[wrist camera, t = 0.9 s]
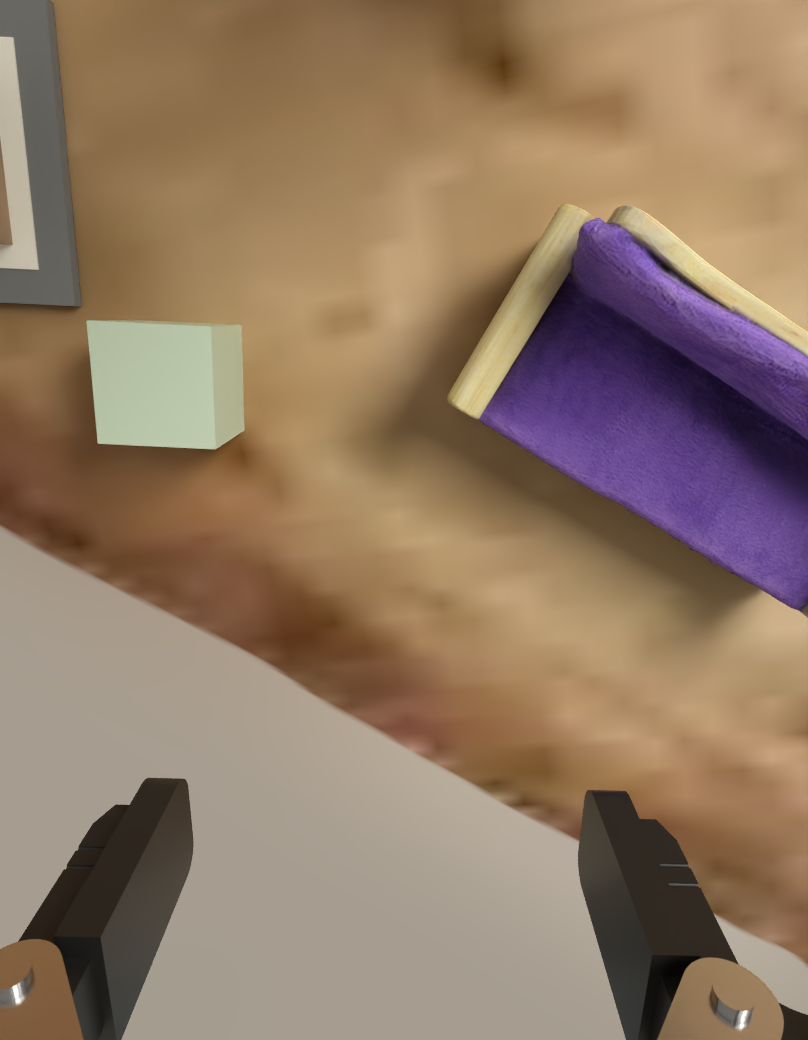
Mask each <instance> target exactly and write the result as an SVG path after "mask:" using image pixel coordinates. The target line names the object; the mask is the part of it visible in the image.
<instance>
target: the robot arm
mask: <svg viewBox="0 0 808 1040" xmlns="http://www.w3.org/2000/svg"><path fill="white" fill-rule="evenodd" d="M192 855H193V832H192V822H191V811H190V802H189V790H188V784H187V782H186V780H185V779H172V778H147V779H145V781H144V782H143V783H142V785H141V786H140V788H139V790H138V792H137V793H136V795H135V797H134V798H133V800H132V802H131V804H130V805H115V806H114V807H112V808H111V809H110V810H109V811H108V812H106V813H105V814H104V815H103V816H102V817H100V818H99V819H98V820H97V821H96V822H94V823H93V825H92V826H91V828H90V829H89V831H88V832H87V834H86V835H85V837H84V839H83V840H82V842H81V843H80V845H79V849H78V851H75V853H74V855H73V856H72V858H71V859H70V861H69V862H68V864H67V868H66V870H63V872H62V874H61V875H60V877H59V878H58V880H57V881H56V883H55V885H54V886H53V888H52V889H51V891H50V892H49V894H48V896H47V897H46V899H45V900H44V902H43V903H42V905H41V907H40V908H39V910H38V911H37V913H36V914H35V916H34V918H33V919H32V921H31V922H30V924H29V925H28V927H27V929H26V930H25V932H24V933H23V935H22V937H21V938H20V940H19V941H18V942H16V943H13V944H11V945H8V946H6V947H4V948H2V949H0V1040H121V1039H122V1036H123V1034H124V1031H125V1029H126V1026H127V1024H128V1021H129V1019H130V1016H131V1014H132V1011H133V1009H134V1007H135V1004H136V1002H137V999H138V997H139V994H140V992H141V989H142V987H143V984H144V982H145V979H146V977H147V974H148V972H149V970H150V967H151V965H152V962H153V959H154V957H155V955H156V952H157V950H158V947H159V945H160V942H161V940H162V937H163V935H164V933H165V930H166V928H167V925H168V923H169V920H170V918H171V915H172V913H173V910H174V908H175V905H176V903H177V901H178V898H179V895H180V893H181V891H182V888H183V886H184V883H185V881H186V878H187V876H188V873H189V870H190V866H191V861H192ZM578 866H579V876H580V882H581V886H582V890H583V893H584V897H585V900H586V904H587V907H588V911H589V914H590V917H591V921H592V924H593V927H594V931H595V935H596V938H597V941H598V945H599V948H600V952H601V955H602V959H603V962H604V966H605V969H606V972H607V976H608V979H609V983H610V986H611V990H612V993H613V996H614V1000H615V1003H616V1007H617V1010H618V1014H619V1017H620V1020H621V1024H622V1027H623V1031H624V1034H625V1038H626V1040H808V1015H806V1014H803V1013H800V1012H797V1011H795V1010H792V1009H790V1008H788V1007H786V1006H784V1005H782V1004H780V1003H778V1001H777V999H776V998H775V996H774V995H773V993H772V992H771V990H770V989H769V988H768V987H767V986H766V984H765V983H763V982H762V981H761V980H760V979H759V978H758V977H757V976H755V975H754V974H753V973H752V972H750V971H749V970H747V969H746V968H744V967H742V966H740V965H739V964H738V962H737V960H736V958H735V956H734V954H733V952H732V951H731V949H730V946H729V945H728V942H727V941H726V938H725V936H724V934H723V932H722V930H721V928H720V926H719V924H718V922H717V920H716V918H715V916H714V914H713V912H712V910H711V908H710V906H709V904H708V902H707V900H706V898H705V896H704V894H703V892H702V890H701V888H699V887H698V882H697V880H696V878H695V876H694V874H693V872H692V870H691V868H689V867H688V862H687V860H686V858H685V856H684V854H683V852H682V850H681V848H680V846H679V844H678V842H677V840H676V839H675V838H674V837H673V836H672V835H671V834H670V833H669V832H668V831H667V830H666V829H665V828H664V827H663V826H662V825H661V824H660V823H659V822H658V821H657V820H652V819H639V817H638V815H637V812H636V810H635V808H634V806H633V803H632V801H631V799H630V797H629V795H628V793H627V792H626V791H606V790H588V791H587V792H586V795H585V800H584V808H583V816H582V825H581V833H580V842H579V851H578Z"/></svg>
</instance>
